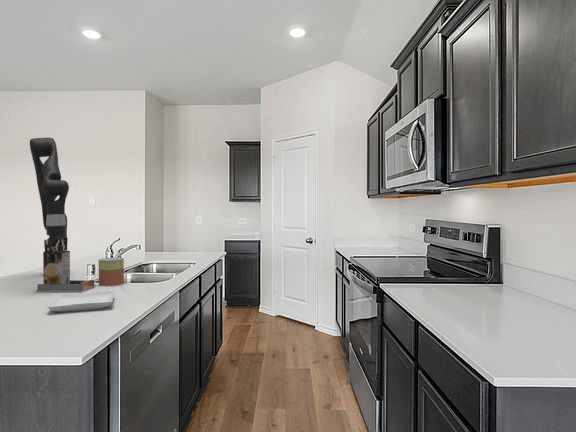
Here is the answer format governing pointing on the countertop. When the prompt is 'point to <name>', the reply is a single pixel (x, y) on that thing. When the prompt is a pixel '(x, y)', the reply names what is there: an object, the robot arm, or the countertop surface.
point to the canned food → (111, 271)
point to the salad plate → (81, 301)
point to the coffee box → (57, 268)
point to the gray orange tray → (67, 286)
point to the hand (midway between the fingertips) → (56, 261)
